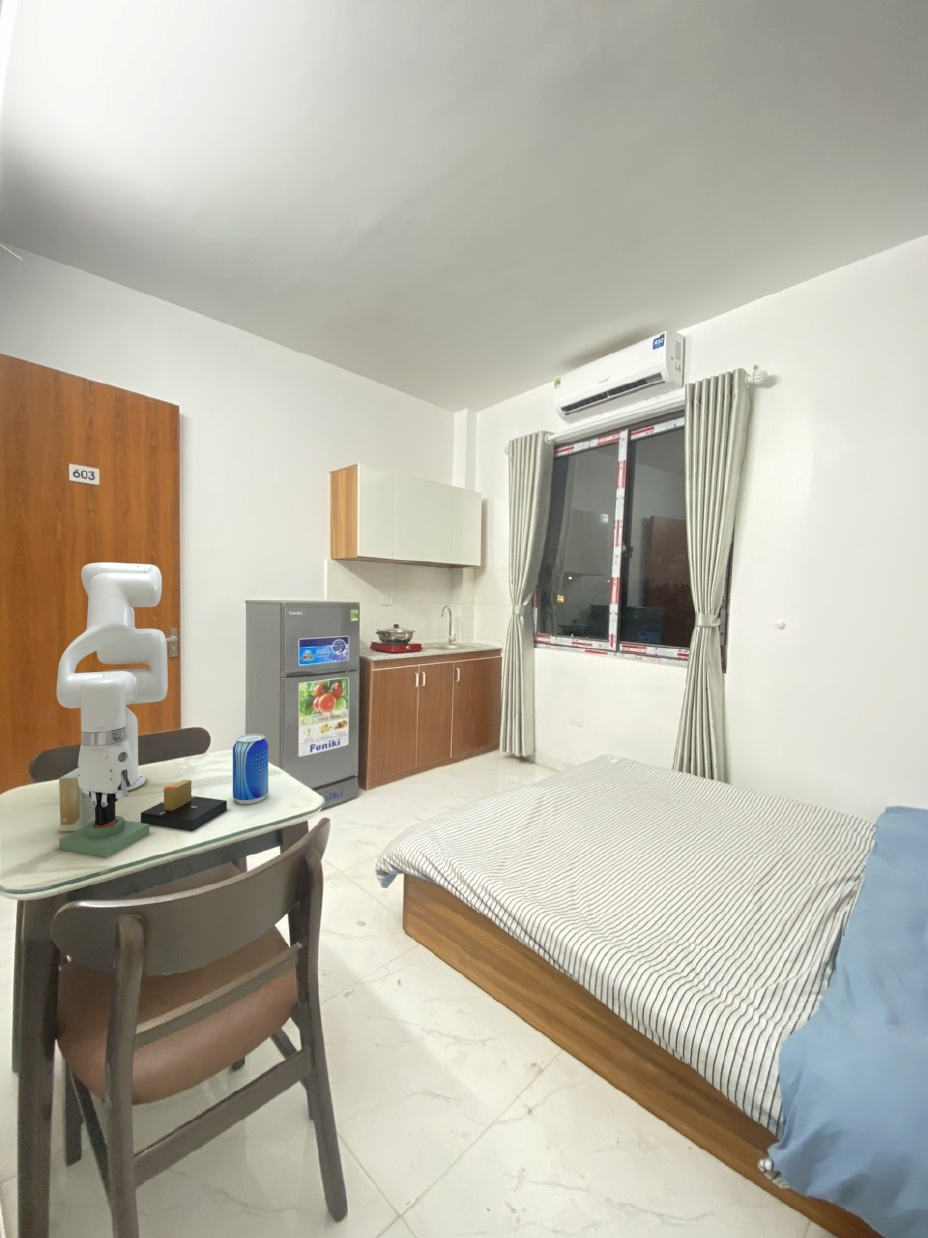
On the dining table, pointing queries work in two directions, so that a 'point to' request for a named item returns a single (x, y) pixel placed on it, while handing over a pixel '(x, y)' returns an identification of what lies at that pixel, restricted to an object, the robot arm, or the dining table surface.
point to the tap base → (185, 814)
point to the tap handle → (177, 795)
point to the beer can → (250, 769)
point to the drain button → (106, 824)
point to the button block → (104, 837)
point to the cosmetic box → (74, 804)
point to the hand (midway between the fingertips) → (105, 822)
